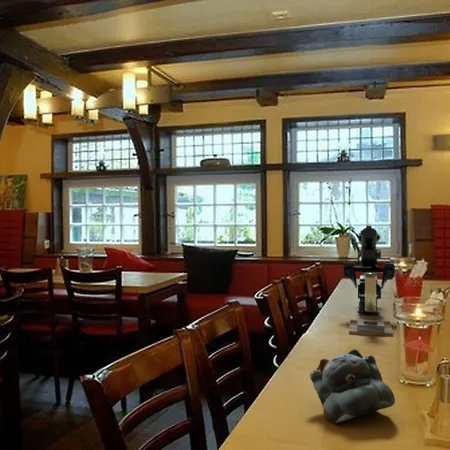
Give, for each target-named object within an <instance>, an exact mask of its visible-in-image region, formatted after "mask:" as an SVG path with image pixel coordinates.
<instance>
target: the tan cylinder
mask: <svg viewBox="0 0 450 450" xmlns="http://www.w3.org/2000/svg"><path fill="white" fill-rule="evenodd" d="M376 277H377V273H365V311H368V312H375V311H376V296H377V295H376Z"/></svg>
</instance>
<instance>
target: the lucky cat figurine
mask: <svg viewBox="0 0 450 450" xmlns="http://www.w3.org/2000/svg"><path fill="white" fill-rule="evenodd" d="M309 377H310V380H311V382H312V384H313V388H314V391H316V394H317V397H318V399H319V401H320V403H321V405H322V411H323V416H324V418H325V420H326V421H327V422H330V423H331V424H332V423H333V424H334V425H337V424H340V423H342V422H344V421H348V420H350V419H353V418H357V417H359V416H363V415H366V414H370V413H374V412H378V411H379V410H383V409H387V408H390V407H392V406H394V404H395V403H396V398H395V395H394V392H393V390H392V389H391V387H390V385H388V384H387V383H385V382H384V381H383V377H382V373H381V371H380V369H379V367H378V365H377V362H376V358H375V357H374V356H373V355H372V354H367V355H365V356H363V355H362V353H360V351H359V350H358V349H351V351H349V352H348V353H342V354H338V355H335V356H334V357H333V358H331V359H327V358H321V359H320V361H319V364H318V366H317V368H316V369H313V371H312V372H310V373H309Z"/></svg>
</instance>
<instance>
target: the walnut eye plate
mask: <svg viewBox="0 0 450 450" xmlns="http://www.w3.org/2000/svg"><path fill="white" fill-rule="evenodd" d="M348 334H349V335H361V336H362V335H363V336H378V337H379V336H380V337H381V336H384V337H394V332H393V328H392V323H391V321H390V320H376V319H375V320H373V319H350V320H349V327H348Z"/></svg>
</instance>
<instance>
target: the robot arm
mask: <svg viewBox="0 0 450 450" xmlns="http://www.w3.org/2000/svg"><path fill="white" fill-rule="evenodd" d="M380 239H381V235H380V234H379V232H377V230H376V229H375V228H374V227H372V225H366V227H365V228H363V229H361V230H360V232H359V233H358V242H360V244H359V245H361V249H359V251H358V253H357V265H355V262H344V263H343V277H345V278H347V279H350V281H351V282H352V284H353V286H354V288H355V289H357V299H359V302H358V311H357V314H358V313H359V314H361V315H366V316H368V315H371V316H372V315H380V314H381V312H380V311H379V312H378V300H380V299H382V289H383V288H384V287H385V284H386V282H387V281H389V280H391V279H393V278H395V276H396V275H395V274H396V273H395V272H396V265H395V264H394V263H392V262H391V263H390V262H389V263H387V262H386V263H385V262H383V266H378V259H382V253H381V252H382V249H380V248H379V249H378V248H377V242H379V240H380ZM356 273H362V275H360V276H359V282H357V281H358V280H357V275H356ZM365 273H376V274H382V278H381V285H380V283H379V281H378V276H376V311H375V312H368V311H365Z"/></svg>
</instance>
